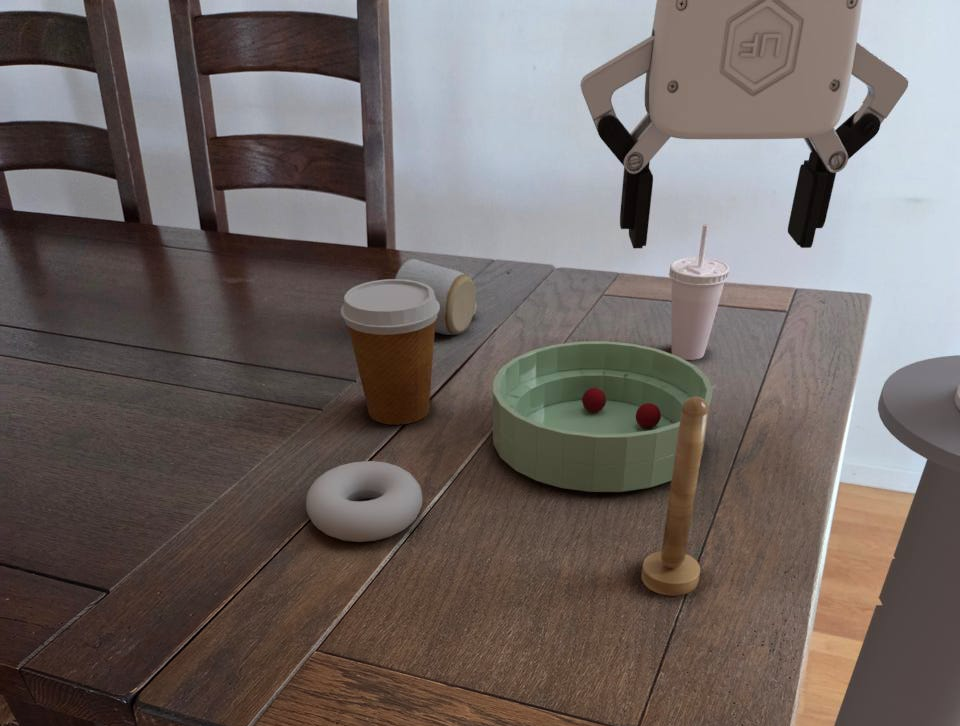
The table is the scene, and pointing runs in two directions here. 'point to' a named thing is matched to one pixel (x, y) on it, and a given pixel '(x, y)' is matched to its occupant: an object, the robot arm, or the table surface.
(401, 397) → the disposable coffee cup
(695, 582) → the stirrer
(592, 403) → the cherry
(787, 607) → the table surface
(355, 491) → the donut
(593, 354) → the bowl
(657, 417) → the cherry
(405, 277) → the ceramic mug
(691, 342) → the smoothie
